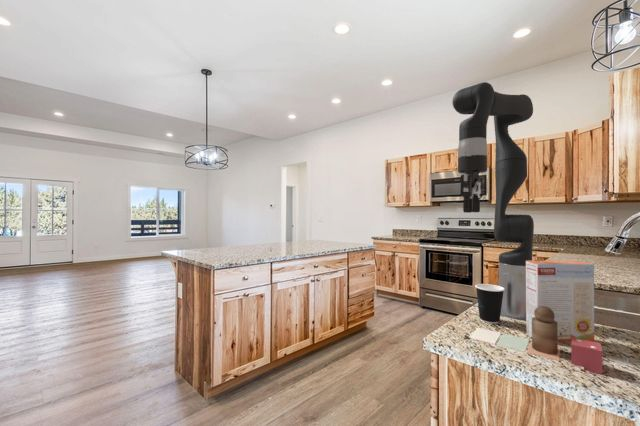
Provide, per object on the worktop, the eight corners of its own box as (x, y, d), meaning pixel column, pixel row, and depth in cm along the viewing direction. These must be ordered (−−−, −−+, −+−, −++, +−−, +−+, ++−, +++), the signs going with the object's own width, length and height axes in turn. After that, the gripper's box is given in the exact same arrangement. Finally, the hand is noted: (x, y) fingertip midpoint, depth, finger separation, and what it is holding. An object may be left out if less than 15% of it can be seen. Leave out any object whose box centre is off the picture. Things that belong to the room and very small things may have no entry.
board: (476, 328, 88) (476, 326, 88) (562, 348, 75) (562, 345, 75) (466, 340, 79) (466, 338, 79) (561, 365, 67) (561, 362, 67)
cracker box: (577, 335, 83) (578, 260, 83) (595, 345, 77) (596, 264, 77) (524, 333, 84) (524, 259, 84) (537, 342, 78) (538, 262, 78)
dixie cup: (509, 324, 91) (510, 288, 91) (495, 329, 87) (495, 291, 87) (483, 316, 98) (484, 282, 98) (469, 320, 94) (469, 285, 94)
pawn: (532, 342, 77) (532, 302, 77) (557, 348, 74) (557, 305, 73) (531, 350, 73) (530, 307, 73) (557, 356, 70) (557, 311, 70)
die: (571, 358, 70) (571, 336, 70) (600, 365, 67) (600, 343, 67) (571, 366, 66) (571, 344, 66) (602, 374, 63) (602, 351, 63)
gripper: (465, 160, 94) (464, 212, 94) (451, 153, 83) (450, 212, 83) (492, 158, 89) (491, 212, 89) (481, 150, 78) (480, 212, 78)
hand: (471, 212), depth 86 cm, fingers open, 8 cm apart
